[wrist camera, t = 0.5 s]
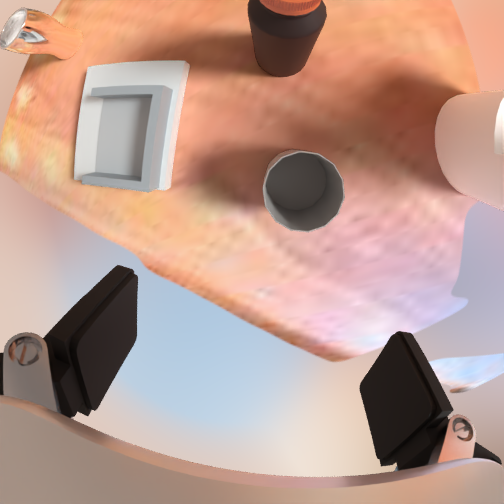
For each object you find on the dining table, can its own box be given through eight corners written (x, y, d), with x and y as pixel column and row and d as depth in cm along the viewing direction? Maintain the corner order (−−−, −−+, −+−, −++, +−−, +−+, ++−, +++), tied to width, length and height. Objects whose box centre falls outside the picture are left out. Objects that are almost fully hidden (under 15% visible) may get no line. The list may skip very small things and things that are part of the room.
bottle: (291, 28, 28) (307, -56, 10) (315, 66, 30) (357, 1, 12) (246, 46, 30) (224, -33, 11) (270, 85, 32) (271, 26, 13)
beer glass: (84, 20, 27) (30, -3, 13) (86, 49, 29) (25, 30, 15) (56, 39, 28) (0, 25, 14) (56, 68, 30) (-4, 59, 16)
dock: (96, 69, 31) (74, 62, 25) (190, 65, 31) (176, 53, 25) (82, 177, 38) (60, 183, 32) (170, 187, 38) (154, 195, 32)
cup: (261, 206, 38) (258, 227, 29) (267, 146, 35) (266, 147, 26) (321, 212, 38) (338, 235, 29) (329, 154, 35) (350, 158, 25)
